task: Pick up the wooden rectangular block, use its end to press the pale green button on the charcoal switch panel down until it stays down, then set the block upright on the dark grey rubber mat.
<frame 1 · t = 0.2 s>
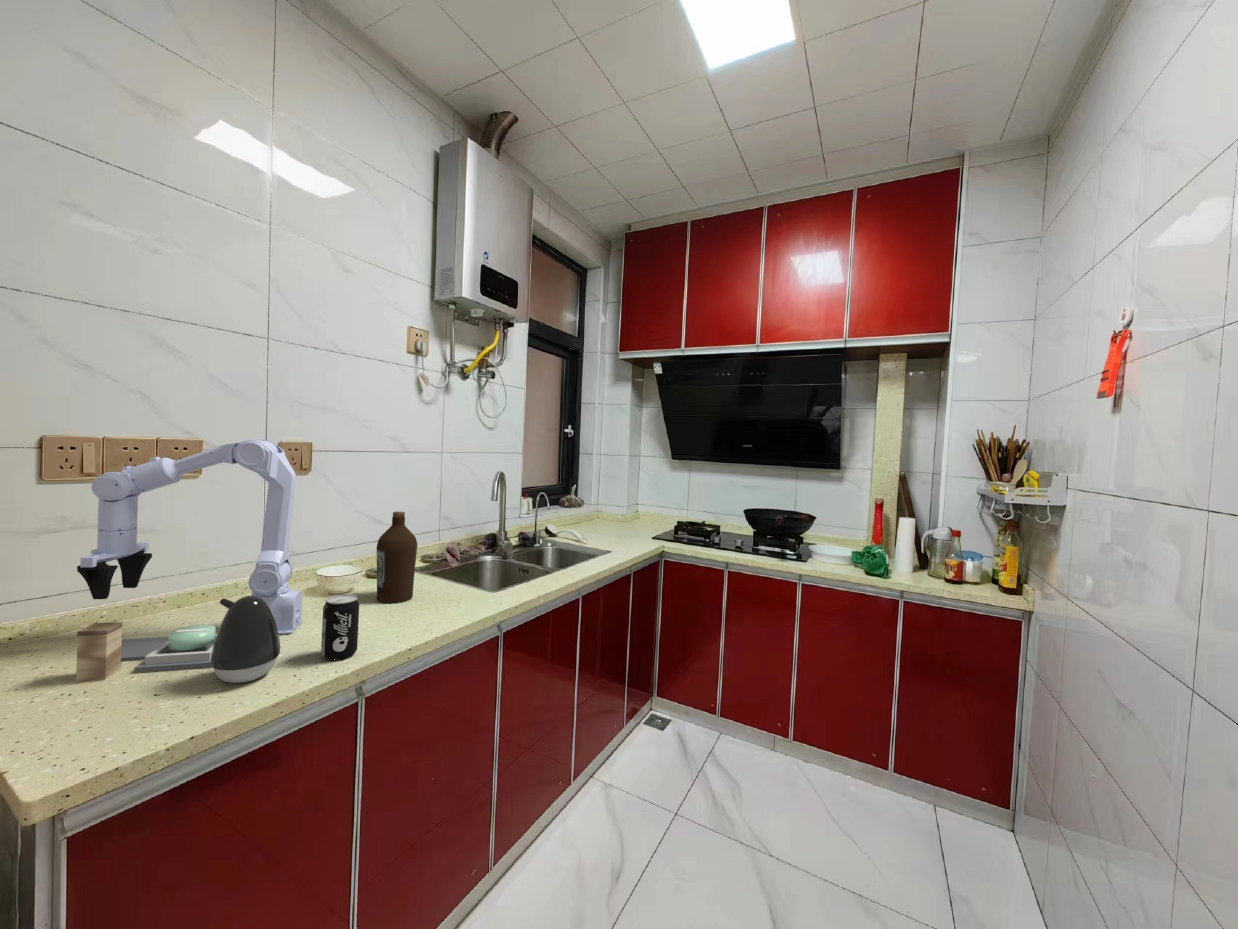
hand: (115, 593, 100), 10 cm above the worktop, tool pointing down, fingers open, 7 cm apart
mat: (138, 650, 96), on the worktop
switch panel: (191, 656, 95), on the worktop
olive oil: (394, 599, 137), on the worktop
pump dispenser: (245, 677, 89), on the worktop
beverage can: (339, 655, 100), on the worktop
wooden rectangular block: (99, 675, 86), on the worktop
button: (192, 636, 95), point 4 cm above the worktop, slide at 0.0 cm
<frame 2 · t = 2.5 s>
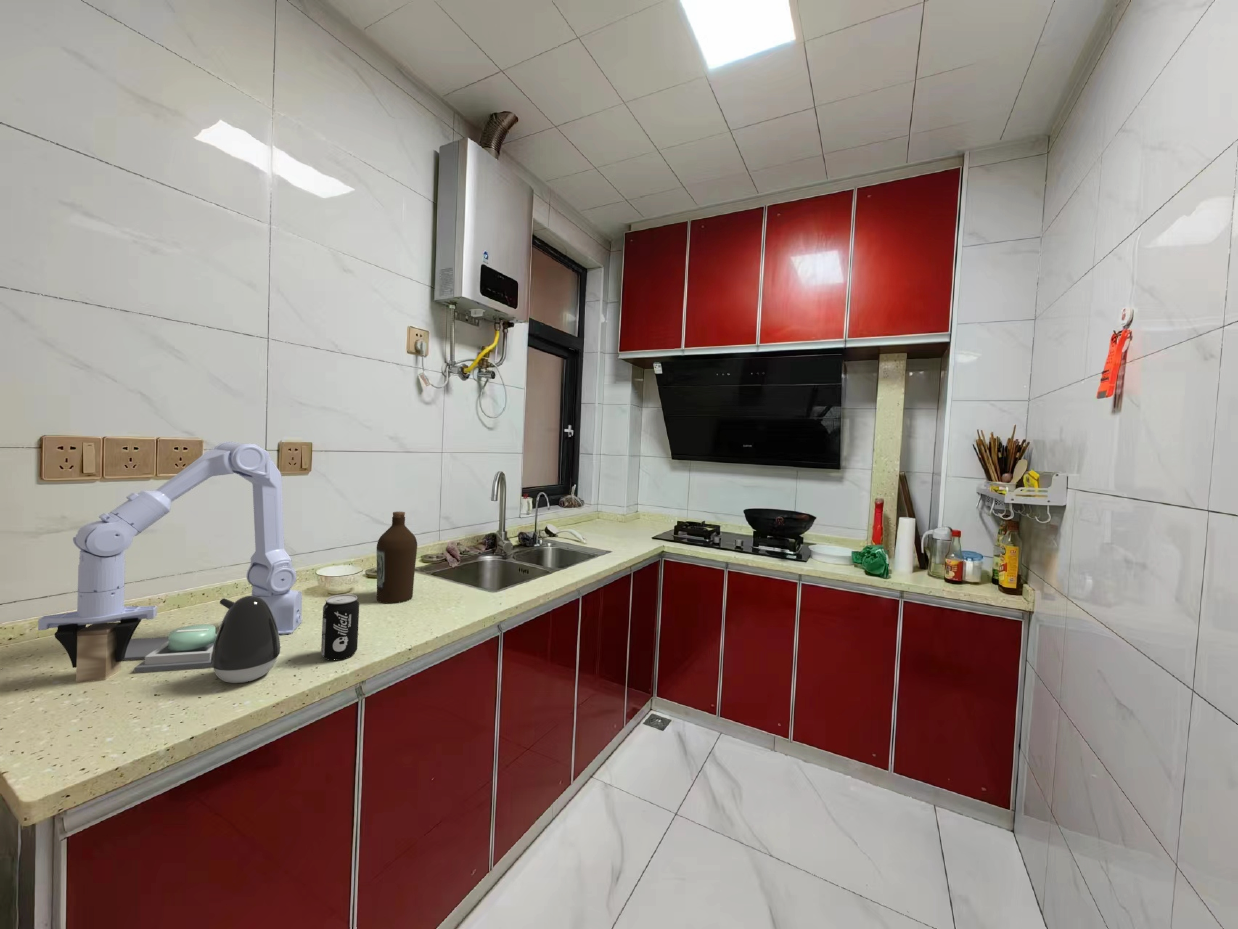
hand: (99, 662, 86), 2 cm above the worktop, tool pointing down, fingers closed on wooden rectangular block, 5 cm apart
wooden rectangular block: (99, 675, 86), on the worktop, touching gripper
everything else where it was.
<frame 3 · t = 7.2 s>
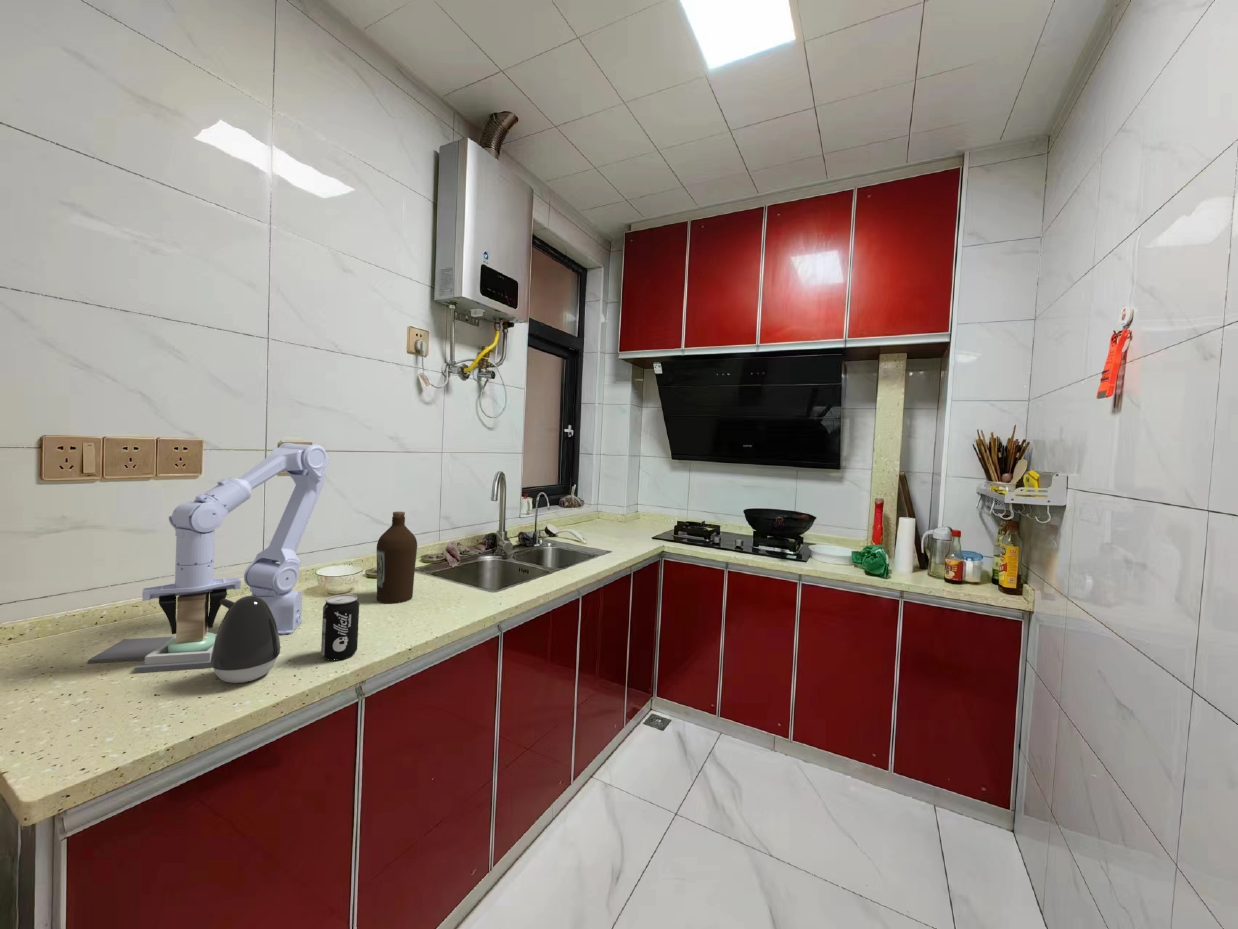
hand: (192, 629, 95), 6 cm above the worktop, tool pointing down, fingers closed on wooden rectangular block, 5 cm apart
wooden rectangular block: (192, 638, 95), point 4 cm above the worktop, touching button, gripper
button: (192, 644, 95), point 2 cm above the worktop, slide at 1.6 cm, touching wooden rectangular block
everything else where it was.
when the fingers open (9 cm above the worktop, at t = 9.4 s): wooden rectangular block drops 1 cm, resting on mat.
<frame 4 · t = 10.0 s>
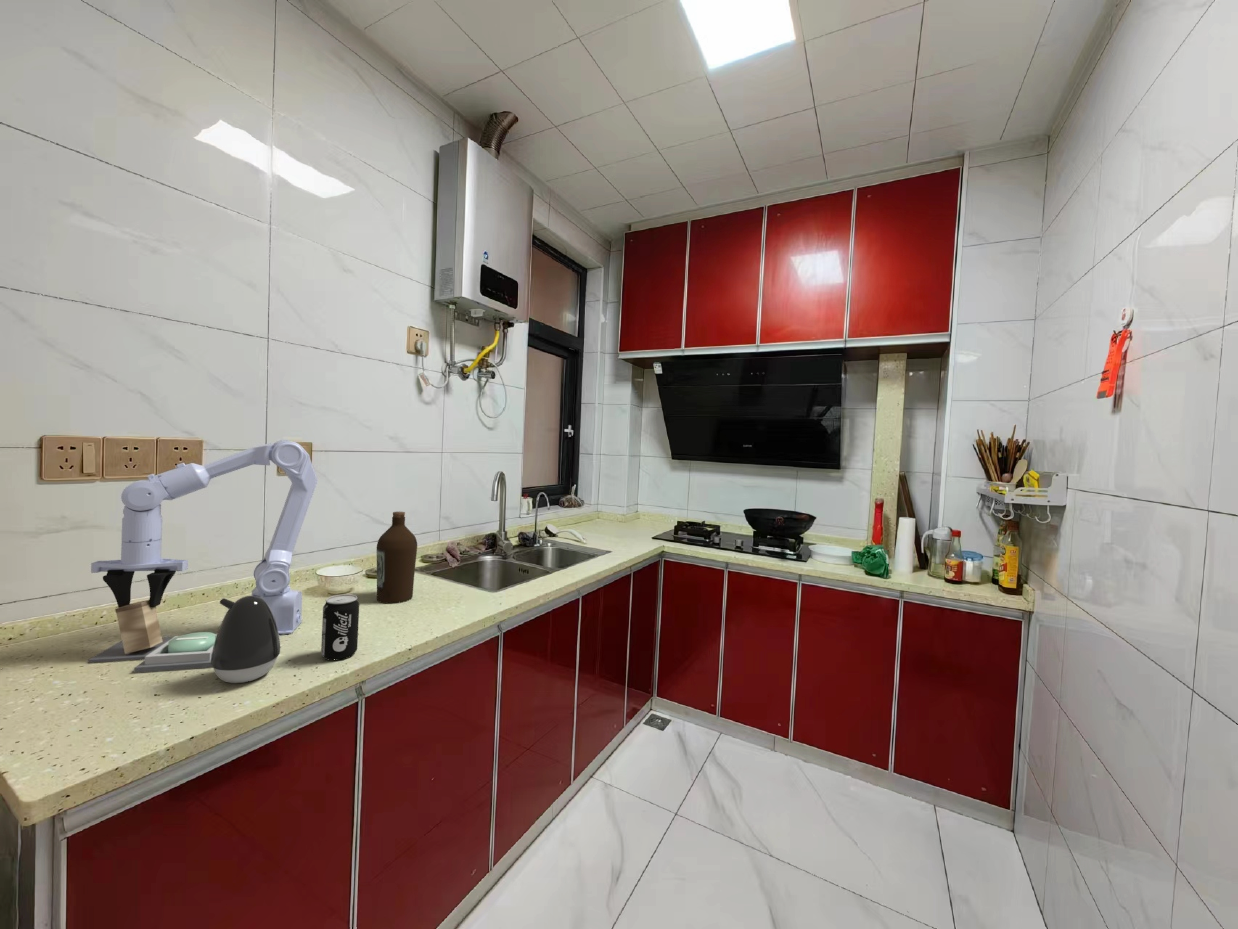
hand: (139, 606, 96), 9 cm above the worktop, tool pointing down, fingers open, 4 cm apart
wooden rectangular block: (144, 647, 95), point 1 cm above the worktop, tilted 15°, touching mat
button: (192, 644, 95), point 2 cm above the worktop, slide at 1.6 cm
everything else where it was.
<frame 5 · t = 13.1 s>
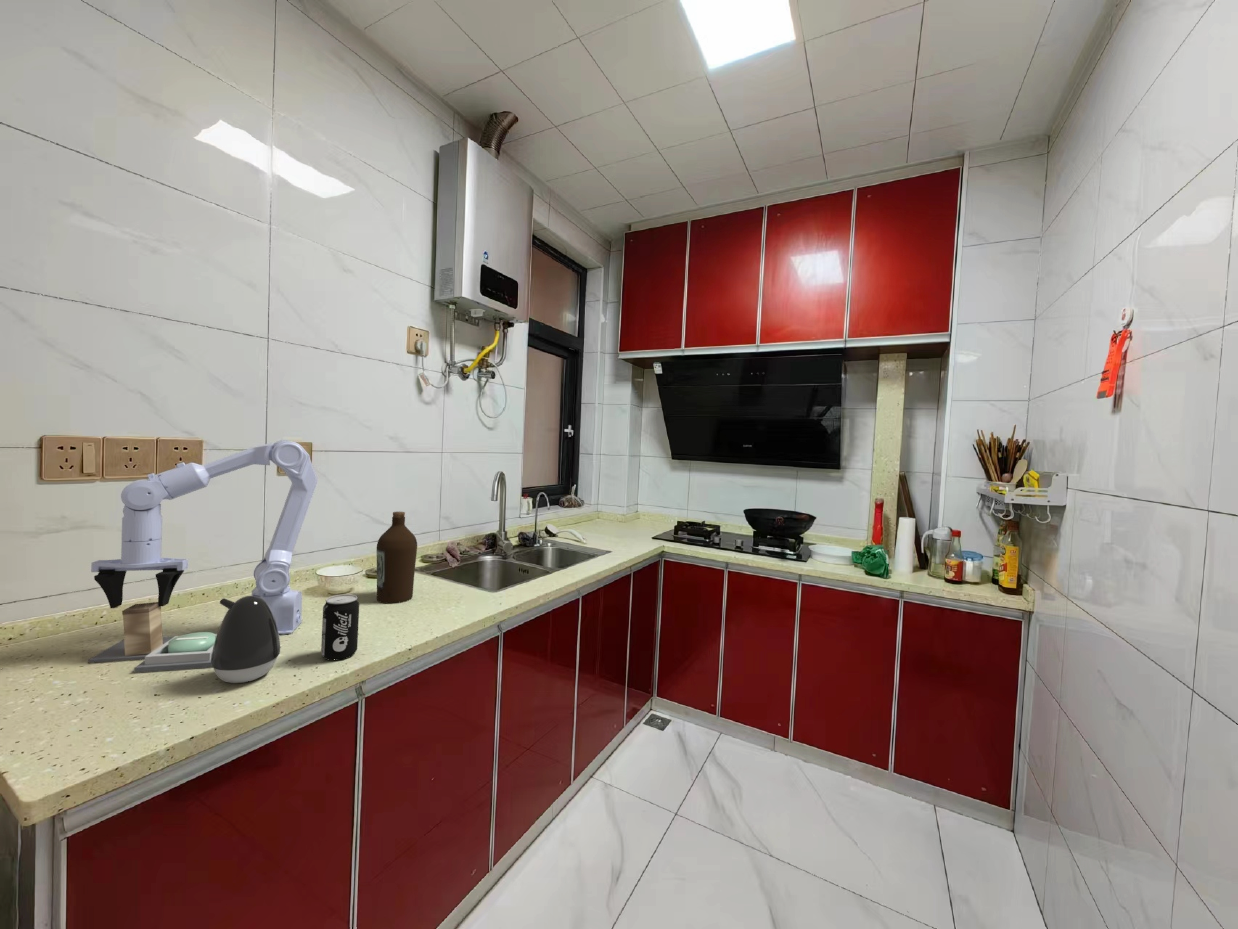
hand: (140, 605, 96), 9 cm above the worktop, tool pointing down, fingers open, 7 cm apart
wooden rectangular block: (144, 650, 95), point 1 cm above the worktop, touching gripper, mat
everything else where it was.
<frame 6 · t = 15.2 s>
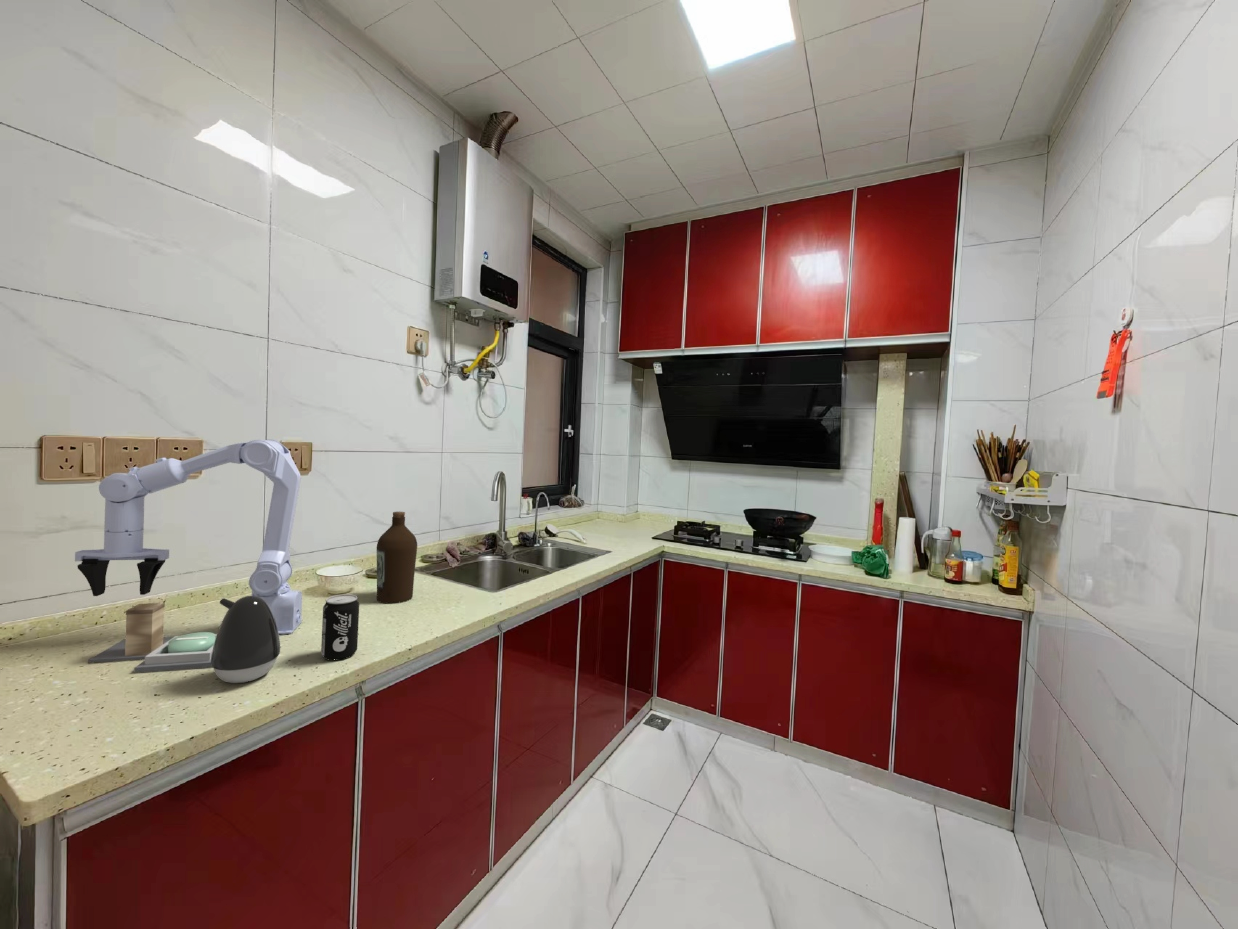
hand: (122, 594, 100), 10 cm above the worktop, tool pointing down, fingers open, 7 cm apart
wooden rectangular block: (144, 651, 95), point 1 cm above the worktop, touching mat
everything else where it was.
at the end: button slide at 1.6 cm; wooden rectangular block inside the target area on the mat (3.0 cm from its centre), point 0.6 cm above the mat's base; wooden rectangular block tilted 0° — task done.
